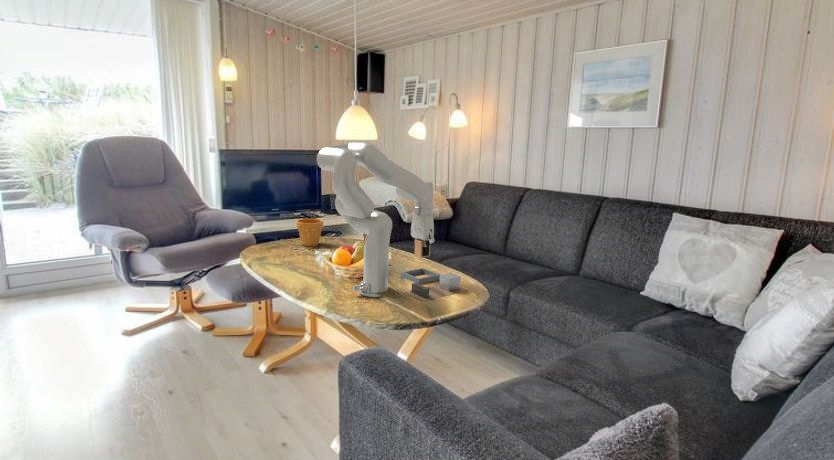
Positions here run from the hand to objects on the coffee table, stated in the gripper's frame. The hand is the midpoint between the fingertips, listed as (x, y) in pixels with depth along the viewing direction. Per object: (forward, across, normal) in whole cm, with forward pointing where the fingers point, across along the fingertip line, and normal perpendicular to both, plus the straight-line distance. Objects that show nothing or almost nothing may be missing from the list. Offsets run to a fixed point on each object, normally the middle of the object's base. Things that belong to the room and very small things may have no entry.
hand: (422, 254), depth 202 cm
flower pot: (+12, -84, -10) cm, 85 cm away
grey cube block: (+10, +17, +1) cm, 20 cm away
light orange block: (+1, 0, 0) cm, 1 cm away
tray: (+12, 0, 0) cm, 12 cm away
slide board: (+12, +17, -7) cm, 22 cm away
